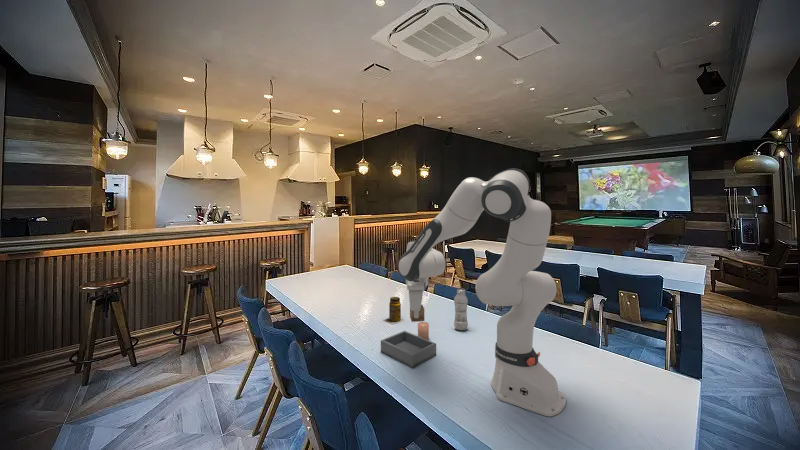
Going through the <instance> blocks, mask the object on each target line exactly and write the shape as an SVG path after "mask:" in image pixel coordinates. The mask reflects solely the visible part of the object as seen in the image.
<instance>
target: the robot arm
mask: <svg viewBox="0 0 800 450" xmlns="http://www.w3.org/2000/svg"><path fill="white" fill-rule="evenodd" d="M530 191H531V181H530V178H529V177H528V175H527V174H526V172H525V171H523V170H521V169H519V168H514V167H513V168H507V169H504V170H501V171H500V172H498V173H496V174H494V175H493V176H490V178H489V179H488V181H484V180H483V179H481V178H478V177H473V176H471V177H466V178H465V179H463V180H462V181H461V182H460V184H459V185H458V186H457V187H456V189H455V190H454V191H453V193H452V194H451V196H450V197H449V199H448V200H447V202H446V204H445V206H444V207H443V208H442V210H441V211H440V212H439V213H438V214H437V215H436V216H435V217H434V218H433V219H432V220H430V221H429V222H428V223H427V224H426V225H425V227H424V228H423V229H422V230H421V232H420V233H419V235H418V236H417V237H416V239H415V240H410V241H408V243H407V245H406V250H405V251H406V252H404V253H403V254H402V255H401V257H400V258H399V260H398V265H397V268H398V273H399V274H400V275H401V277H402V278H404V280H405V285H406V290H407V291H408V299H409V310H410V309H411V311H414V318H419V311H420V309H421V305H422V300H423V296H424V294H423V293H424V291H425V289H426V287H427V286H429V278H431V277H438V276H440V275H443V274H444V273H445V271H446V269H447V259H446V256H445V255H444V253H442V252H441V251H440V250H437V249H435V248H434V247H435V246H436V245H437V244H439V243H441V242H443V241H446V240H449V239H452V238H455V237H459V236H462V235H465V234H466V233H468V232H469V231H470V230H471V229H472V228H473V227H474V226H475V224H476V223H477V222H478V220H479V217H480V216H481V215H482V213H483V211H485V212H486V213H487V214H488V215H490V216H492V217H493V218H496V219H501V220H503V221H504V222H508V223H509V222H510V223H509V228H508V233H507V236H506V241H505V242H506V243H505V245H504V249H503V251H502V254H501V256H500V258H499V259H498V260H497V262H496V263H495V264H494V265H493V266H492V267H491V268H489V269H488V270H487V271H485V272H483V273H482V274H480V275H479V277H477V279H476V282H475V288H474V289H475V293H476V296H477V298H478V299H479V301H480V302H481V303H482V304H485V305H490V306H495V307H510V306H511V309H510V310H509V311H508V312H506V313H505V314H503V315H501V316H500V317H499V318H498V320H497V323H496V342H495V346H494V347H495V348H494V357H495V364H494V365H495V366H494V371H493V375H492V379H491V382H490V385H491V388H492V389H493V390H494V392H495V393H496V397H497V399H498V400H499V401H502V402H505V403H507V404H510V405H513V406H516V407H519V408H522V409H525V410H527V411H530V412H533V413H536V414H538V415H541V416H546V417H554V416H557V415H558V414H560V413H561V412H562V411H563V410H564V409H565V408H566V405H567V397H566V395H565V393H564V392H562V391H560V390H559V386H558V381H557V379H556V377H555V376H554V375H553V374H552V373H551V372H550V371H549V370H548V369H547V368H545V367H544V365H543V364H541V363H540V361H539V358H540V356H541V352H540V351H539V352H538V353H537V352H536V351H535V349H534V346H533V341H534V331H535V330H534V329H535V324H536V322H537V320H538V319H537V318H538V317H539V315H540V314H541V312H542V310H544V308H546V306H548V305H549V304H550V303H551V302H553V301H554V299H555V297H556V295H557V283H556V281H555V279H554V278H553V277H552V276H551V275H550V274H549V273H547V272H541V271H536V270H535V269H537V268H538V267H539V266H540V265H541V264H542V261H543V258H544V256H545V251H546V249H547V243H548V241H549V237H550V231H551V230H550V229H551V223H552V210H551V208H550V207H549V205H547V204H546V203H545V202H544V201H541V200H538V199H533V198H531V196H530V195H528V194H529V192H530Z"/></svg>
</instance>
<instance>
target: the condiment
mask: <svg viewBox="0 0 800 450" xmlns="http://www.w3.org/2000/svg"><path fill="white" fill-rule="evenodd" d="M389 300H390V301H389V307H388V308H389V310H388V311H389V313H388V314H389V315H388V316H389V318H386V319H383V321H384V322H386V323H388V324H390V325H391V324H392V325H394V324H397V323H400V322H403V321H404V319H403V318H402V312H401V311H402V310H401V309H402V307H401V305H402V304H401V298H400V297H399V296H392V297H390V299H389Z"/></svg>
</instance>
